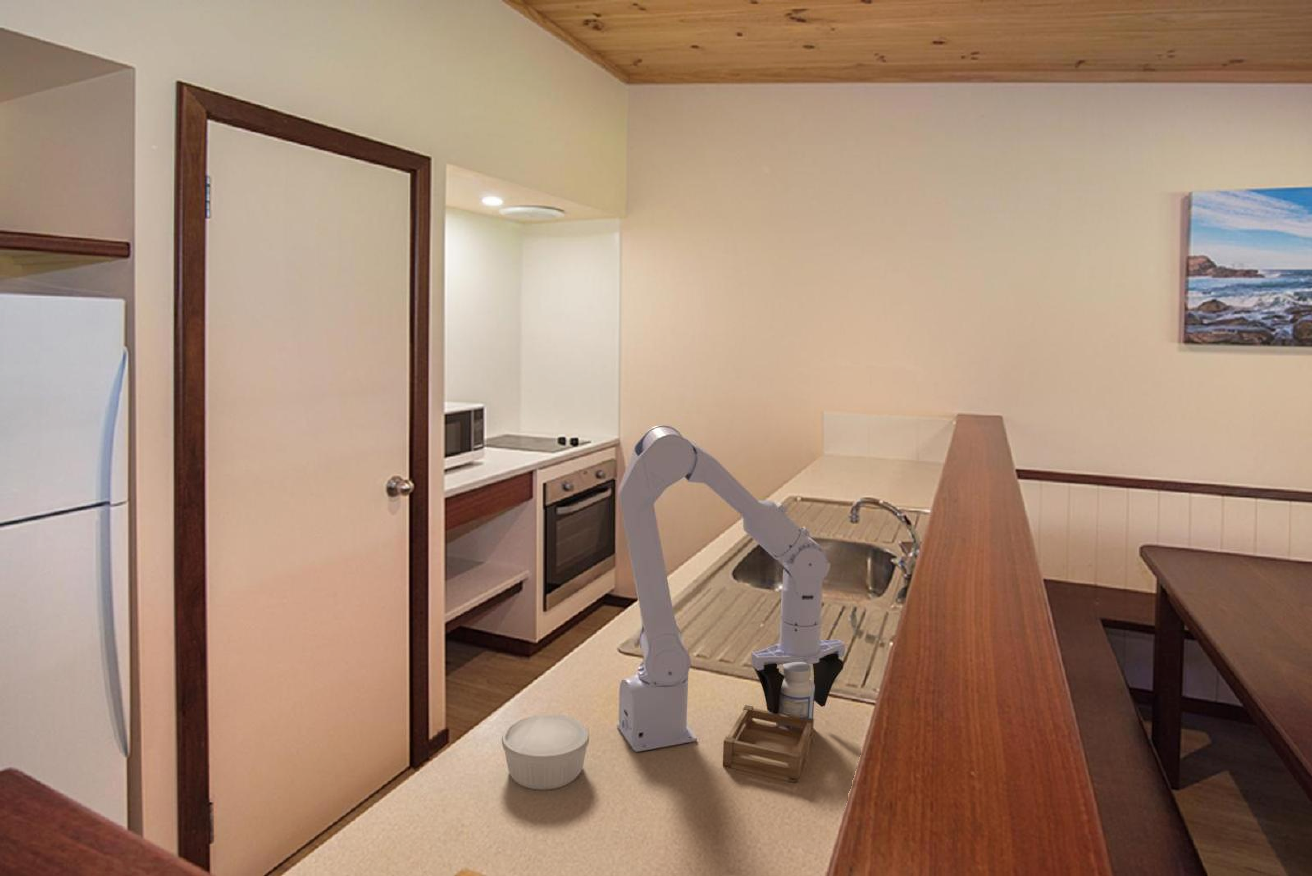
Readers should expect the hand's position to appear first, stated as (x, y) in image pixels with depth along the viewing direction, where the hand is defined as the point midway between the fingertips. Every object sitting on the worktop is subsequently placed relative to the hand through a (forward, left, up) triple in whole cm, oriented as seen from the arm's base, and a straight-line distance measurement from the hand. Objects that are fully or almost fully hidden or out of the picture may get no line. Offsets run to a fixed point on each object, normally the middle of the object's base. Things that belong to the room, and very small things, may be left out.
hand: (796, 707), depth 118 cm
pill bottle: (0, 0, -3) cm, 3 cm away
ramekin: (-37, +1, -4) cm, 37 cm away
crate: (-7, -5, -3) cm, 9 cm away
